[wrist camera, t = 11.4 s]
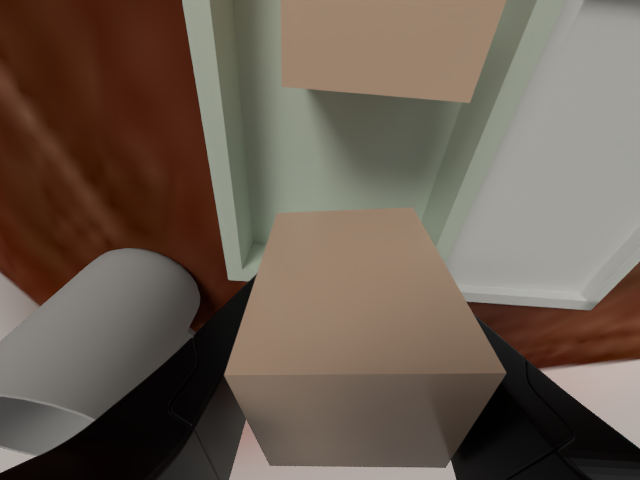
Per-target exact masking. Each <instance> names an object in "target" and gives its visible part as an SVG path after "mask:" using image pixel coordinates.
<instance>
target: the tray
mask: <svg viewBox="0 0 640 480" xmlns="http://www.w3.org/2000/svg"><path fill="white" fill-rule="evenodd" d="M639 262H640V0H565V3H564V5H563V7H562V9H561V11H560V14H559V16H558V18H557V20H556V22H555V25H554V27H553V29H552V31H551V33H550V36H549V38H548V40H547V42H546V44H545V47H544V49H543V51H542V53H541V55H540V58H539V60H538V62H537V64H536V66H535V68H534V71H533V73H532V75H531V77H530V79H529V82H528V84H527V86H526V88H525V90H524V93H523V95H522V97H521V99H520V101H519V104H518V106H517V108H516V110H515V112H514V115H513V117H512V119H511V121H510V123H509V125H508V128H507V130H506V132H505V134H504V136H503V139H502V141H501V143H500V145H499V147H498V150H497V152H496V154H495V156H494V158H493V161H492V163H491V165H490V167H489V169H488V172H487V174H486V176H485V178H484V180H483V183H482V185H481V187H480V189H479V191H478V193H477V196H476V198H475V200H474V202H473V204H472V207H471V209H470V211H469V213H468V215H467V218H466V220H465V222H464V224H463V226H462V229H461V231H460V233H459V235H458V237H457V240H456V242H455V244H454V246H453V248H452V250H451V253H450V255H449V257H448V259H447V261H446V264H445V265H446V267H447V269H448V270H449V272H450V274H451V276H452V277H453V279H454V281H455V283H456V284H457V286H458V288H459V290H460V292H461V293H462V295H463V297H464V299H465V300H466V301H467V302H481V303H495V304H509V305H523V306H537V307H551V308H565V309H579V310H592V309H593V308H594V307H595V306H596V305H597V304H598V303H599V302H600V301H601V300H602V299H603V298H604V297H605V296H606V295H607V294H608V293H609V292H610V291H611V290H612V289H613V288H614V287H615V286H616V285H617V284H618V283H619V282H620V281H621V280H622V279H623V278H624V277H625V276H626V275H627V274H628V273H629V272H630V271H631V270H632V269H633V268H634V267H635V266H636V265H637V264H638V263H639Z"/></svg>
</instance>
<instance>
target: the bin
mask: <svg viewBox="0 0 640 480" xmlns="http://www.w3.org/2000/svg"><path fill="white" fill-rule="evenodd" d="M182 2H183V8H184V15H185V21H186V27H187V33H188V39H189V45H190V51H191V57H192V63H193V69H194V75H195V81H196V87H197V93H198V99H199V105H200V111H201V117H202V123H203V129H204V135H205V142H206V148H207V154H208V160H209V166H210V172H211V178H212V184H213V190H214V196H215V202H216V208H217V214H218V220H219V226H220V232H221V238H222V244H223V250H224V256H225V262H226V269H227V275H228V280H237V281H250V280H251V279H252V278H253V277H254V276H255V275H256V274H257V273H258V269H259V266H260V263H261V260H262V257H263V254H264V251H265V248H266V245H267V242H268V239H269V236H270V233H271V230H272V226H273V223H274V220H275V217H276V214H277V213H288V212H312V211H336V210H360V209H384V208H408V207H413V208H414V210H415V212H416V214H417V216H418V217H419V219H420V221H421V223H422V224H423V226H424V228H425V230H426V231H427V233H428V235H429V237H430V239H431V240H432V242H433V244H434V246H435V247H436V249H437V251H438V253H439V254H440V256H441V258H442V260H443V261H444V263H445V264H446V261H447V259H448V257H449V255H450V253H451V250H452V248H453V246H454V244H455V242H456V240H457V237H458V235H459V233H460V231H461V229H462V226H463V224H464V222H465V220H466V218H467V215H468V213H469V211H470V209H471V207H472V204H473V202H474V200H475V198H476V196H477V193H478V191H479V189H480V187H481V185H482V183H483V180H484V178H485V176H486V174H487V172H488V169H489V167H490V165H491V163H492V161H493V158H494V156H495V154H496V152H497V150H498V147H499V145H500V143H501V141H502V139H503V136H504V134H505V132H506V130H507V128H508V125H509V123H510V121H511V119H512V117H513V115H514V112H515V110H516V108H517V106H518V104H519V101H520V99H521V97H522V95H523V93H524V90H525V88H526V86H527V84H528V82H529V79H530V77H531V75H532V73H533V71H534V68H535V66H536V64H537V62H538V60H539V58H540V55H541V53H542V51H543V49H544V47H545V44H546V42H547V40H548V38H549V36H550V33H551V31H552V29H553V27H554V25H555V22H556V20H557V18H558V16H559V14H560V11H561V9H562V7H563V5H564V3H565V0H506V3H505V6H504V9H503V12H502V14H501V17H500V20H499V23H498V26H497V29H496V31H495V34H494V37H493V40H492V43H491V45H490V48H489V51H488V54H487V57H486V59H485V62H484V65H483V68H482V71H481V73H480V76H479V79H478V82H477V85H476V87H475V90H474V93H473V96H472V99H471V101H470V103H465V102H453V101H441V100H430V99H418V98H406V97H395V96H383V95H372V94H360V93H348V92H337V91H325V90H313V89H302V88H290V87H282V80H281V0H182Z"/></svg>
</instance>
